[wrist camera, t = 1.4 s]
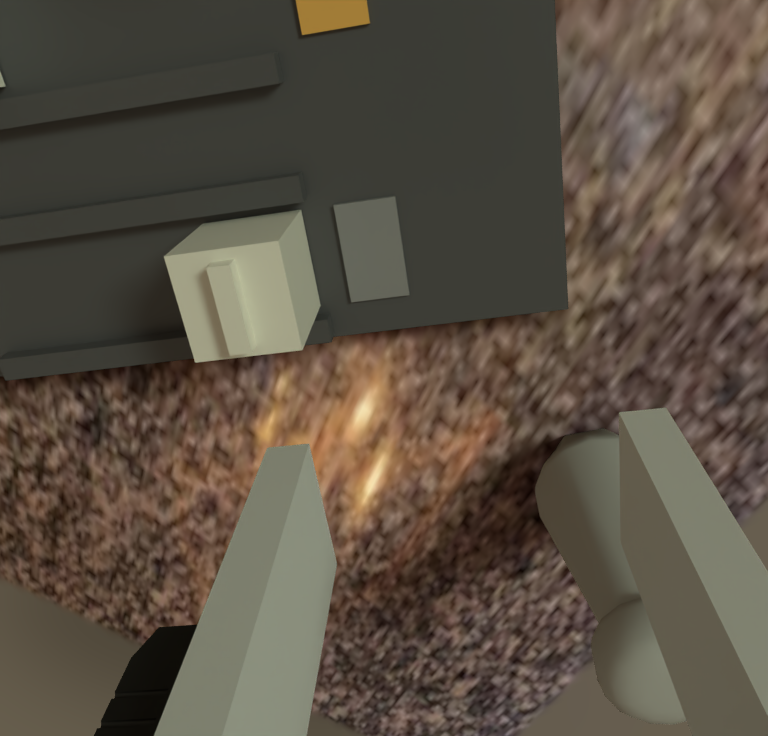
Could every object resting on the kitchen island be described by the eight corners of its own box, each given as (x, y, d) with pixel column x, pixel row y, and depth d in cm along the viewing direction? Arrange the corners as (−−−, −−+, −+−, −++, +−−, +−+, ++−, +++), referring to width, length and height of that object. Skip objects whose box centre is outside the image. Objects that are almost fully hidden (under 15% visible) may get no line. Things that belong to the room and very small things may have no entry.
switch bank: (-215, -39, 26) (-283, -46, 24) (536, -193, 23) (549, -220, 21) (-33, 364, 34) (-71, 391, 31) (559, 292, 30) (571, 316, 28)
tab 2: (202, 223, 28) (156, 262, 23) (300, 209, 27) (273, 246, 23) (227, 317, 29) (189, 371, 25) (320, 305, 29) (299, 358, 24)
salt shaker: (588, 389, 32) (678, 594, 20) (677, 456, 33) (809, 685, 22) (504, 472, 34) (541, 699, 23) (590, 531, 36) (667, 776, 24)
